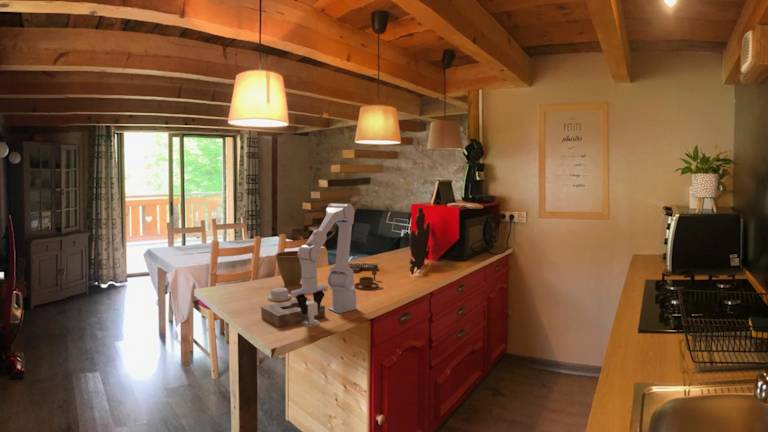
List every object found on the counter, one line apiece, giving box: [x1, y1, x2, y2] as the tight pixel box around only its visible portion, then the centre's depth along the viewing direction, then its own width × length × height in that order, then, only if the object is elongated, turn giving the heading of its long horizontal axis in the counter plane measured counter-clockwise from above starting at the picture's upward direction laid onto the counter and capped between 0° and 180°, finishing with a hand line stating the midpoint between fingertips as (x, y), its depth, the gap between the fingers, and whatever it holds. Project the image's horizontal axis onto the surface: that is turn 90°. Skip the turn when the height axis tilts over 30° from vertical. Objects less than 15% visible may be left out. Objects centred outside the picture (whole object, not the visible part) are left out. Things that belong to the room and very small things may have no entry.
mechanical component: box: [267, 287, 292, 302], centre depth 217 cm, size 10×4×10 cm
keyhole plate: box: [260, 297, 326, 328], centre depth 189 cm, size 20×15×4 cm
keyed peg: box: [300, 300, 321, 328], centre depth 180 cm, size 5×5×8 cm
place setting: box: [353, 269, 384, 292], centre depth 238 cm, size 18×20×6 cm
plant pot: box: [275, 250, 302, 287], centre depth 241 cm, size 15×15×16 cm
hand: (310, 312), depth 180 cm, fingers open, 5 cm apart
